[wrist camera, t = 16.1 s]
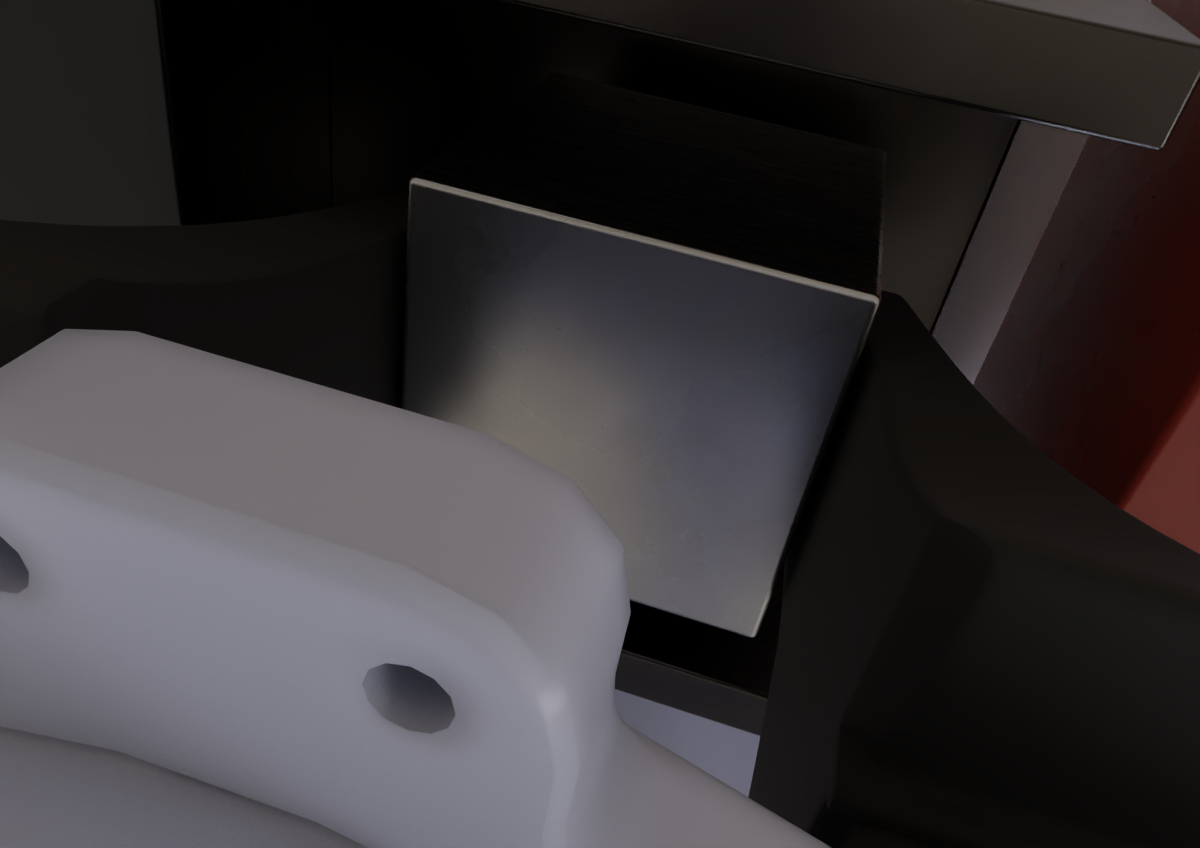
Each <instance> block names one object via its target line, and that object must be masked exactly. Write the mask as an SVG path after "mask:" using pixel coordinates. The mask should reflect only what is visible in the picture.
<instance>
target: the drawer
mask: <svg viewBox="0 0 1200 848" xmlns="http://www.w3.org/2000/svg"><path fill="white" fill-rule="evenodd" d="M199 5H200V16H201V27H202V37H203V48H204V59H205V70H206V80H207V91H208V102H209V113H210V123H211V134H212V145H213V156H214V166H215V177H216V188H217V199H218V209H219V220H220V223H227V222H239V221H249V220H258V219H266V218H273V217H280V216H287V215H292V214H298V213H303V212H309V211H314V210H320V209H325V208H331V207H336V206H342V205H347V204H352V203H357V202H361V201H366V200H370V199H375V198H379V197H384V196H388V195H393V194H397V193H402V192H407V191H409V180H410V178H411V176H413V175H414V174H415V173H417V172H418V171H419V170H421V169H422V168H423V167H425V166H426V165H427V164H429V163H430V162H432V161H433V160H434V159H436V158H437V157H438V156H440V155H441V154H442V153H444V152H445V151H446V150H448V149H449V148H450V147H452V146H453V145H454V144H456V143H457V142H458V141H460V140H461V139H463V138H464V137H465V136H467V135H468V134H469V133H471V132H472V131H473V130H475V129H476V128H477V127H479V126H480V125H481V124H483V123H484V122H485V121H487V120H488V119H489V118H491V117H492V116H494V115H495V114H496V113H498V112H499V111H500V110H502V109H503V108H504V107H506V106H507V105H508V104H510V103H511V102H512V101H514V100H515V99H516V98H518V97H519V96H521V95H522V94H523V93H525V92H526V91H527V90H529V89H530V88H531V87H533V86H534V85H535V84H537V83H538V82H539V81H541V80H542V79H543V78H545V77H546V76H547V75H549V74H550V73H553V72H557V73H561V74H566V75H570V76H574V77H578V78H583V79H587V80H591V81H595V82H599V83H604V84H608V85H612V86H616V87H621V88H625V89H629V90H633V91H638V92H642V93H646V94H650V95H655V96H659V97H663V98H667V99H672V100H676V101H680V102H684V103H689V104H693V105H697V106H701V107H705V108H710V109H714V110H718V111H722V112H727V113H731V114H735V115H739V116H744V117H748V118H752V119H756V120H761V121H765V122H769V123H773V124H778V125H782V126H786V127H790V128H794V129H799V130H803V131H807V132H811V133H816V134H820V135H824V136H828V137H833V138H837V139H841V140H845V141H850V142H854V143H858V144H862V145H867V146H871V147H875V148H879V149H882V150H884V151H885V152H886V170H885V199H884V228H883V256H882V285H881V290H883V291H887V292H891V293H895V294H899V295H901V296H902V297H903V298H904V299H905V301H906V302H907V303H908V304H909V305H910V307H911V308H912V309H913V311H914V312H915V313H916V315H917V316H918V317H919V319H920V320H921V321H922V323H923V324H924V325H925V327H926V328H927V329H928V331H929V332H930V333H931V335H933V333H934V330H935V328H936V325H937V323H938V321H939V318H940V316H941V314H942V311H943V309H944V306H945V304H946V302H947V299H948V297H949V294H950V292H951V290H952V287H953V285H954V283H955V280H956V278H957V275H958V273H959V271H960V268H961V266H962V263H963V261H964V259H965V256H966V254H967V251H968V249H969V247H970V244H971V242H972V240H973V237H974V235H975V232H976V230H977V228H978V225H979V223H980V220H981V218H982V216H983V213H984V211H985V209H986V206H987V204H988V201H989V199H990V197H991V194H992V192H993V189H994V187H995V185H996V182H997V180H998V178H999V175H1000V173H1001V170H1002V168H1003V166H1004V163H1005V161H1006V158H1007V156H1008V154H1009V151H1010V149H1011V146H1012V144H1013V142H1014V139H1015V137H1016V135H1017V132H1018V130H1019V127H1020V125H1021V123H1022V121H1027V122H1031V123H1036V124H1040V125H1044V126H1049V127H1053V128H1058V129H1062V130H1066V131H1071V132H1075V133H1080V134H1084V135H1088V136H1089V137H1088V139H1087V141H1086V144H1085V146H1084V148H1083V150H1082V152H1081V154H1080V156H1079V159H1078V161H1077V163H1076V165H1075V167H1074V169H1073V172H1072V174H1071V176H1070V178H1069V180H1068V182H1067V184H1066V187H1065V189H1064V191H1063V193H1062V195H1061V197H1060V199H1059V202H1058V204H1057V206H1056V208H1055V210H1054V212H1053V214H1052V217H1051V219H1050V221H1049V223H1048V225H1047V227H1046V229H1045V232H1044V234H1043V236H1042V238H1041V240H1040V242H1039V245H1038V247H1037V249H1036V251H1035V253H1034V255H1033V257H1032V260H1031V262H1030V264H1029V266H1028V268H1027V270H1026V272H1025V275H1024V277H1023V279H1022V281H1021V283H1020V285H1019V287H1018V290H1017V292H1016V294H1015V296H1014V298H1013V300H1012V303H1011V305H1010V307H1009V309H1008V311H1007V313H1006V315H1005V318H1004V320H1003V322H1002V324H1001V326H1000V328H999V330H998V333H997V335H996V337H995V339H994V341H993V343H992V345H991V348H990V350H989V352H988V354H987V356H986V358H985V361H984V363H983V365H982V367H981V369H980V371H979V373H978V376H977V378H976V380H975V382H974V384H973V386H974V387H975V388H976V389H977V390H978V391H979V392H980V393H981V395H982V396H983V397H984V398H985V399H986V400H987V401H988V402H989V403H990V404H991V405H992V406H993V407H994V408H995V409H996V410H997V411H998V412H999V413H1000V414H1001V415H1002V416H1003V417H1004V418H1005V419H1006V420H1007V421H1008V422H1009V423H1010V424H1011V425H1012V426H1013V427H1014V428H1015V429H1016V430H1018V431H1019V432H1020V433H1021V434H1022V435H1024V436H1025V437H1026V438H1027V439H1028V440H1029V441H1031V442H1032V443H1033V444H1034V445H1035V446H1036V447H1038V448H1039V449H1040V450H1041V451H1042V452H1043V453H1045V454H1046V455H1047V456H1048V457H1049V458H1051V459H1052V460H1053V461H1054V462H1056V463H1057V464H1058V465H1060V466H1061V467H1062V468H1064V469H1065V470H1066V471H1068V472H1069V473H1070V474H1072V475H1073V476H1074V477H1076V478H1077V479H1079V480H1080V481H1081V482H1083V483H1084V484H1086V485H1087V486H1089V487H1090V488H1092V489H1093V490H1095V491H1096V492H1097V493H1099V494H1100V495H1102V496H1103V497H1105V498H1106V499H1108V500H1109V501H1111V502H1112V503H1113V504H1115V505H1116V506H1118V507H1119V508H1121V509H1123V510H1124V511H1126V512H1127V513H1129V514H1131V515H1132V516H1134V517H1136V518H1137V519H1139V520H1141V521H1142V522H1144V523H1145V524H1147V525H1149V526H1150V527H1152V528H1154V529H1155V530H1157V531H1159V532H1161V533H1162V534H1164V535H1166V536H1168V537H1170V538H1171V539H1173V540H1175V541H1177V542H1179V543H1181V544H1182V545H1184V546H1186V547H1188V548H1190V549H1191V550H1193V551H1195V552H1197V553H1199V554H1200V0H1152V2H1151V3H1150V2H1149V1H1148V0H199ZM784 566H785V561H784V564H783V567H782V570H781V572H780V575H779V578H778V580H777V583H776V586H775V588H774V591H773V594H772V596H771V599H770V602H769V604H768V607H767V610H766V612H765V615H764V618H763V621H762V623H761V626H760V629H759V631H758V633H757V634H756V636H755V637H747V636H744V635H740V634H737V633H734V632H731V631H728V630H724V629H721V628H718V627H715V626H711V625H708V624H705V623H702V622H698V621H695V620H692V619H689V618H686V617H682V616H679V615H676V614H673V613H669V612H666V611H663V610H660V609H657V608H653V607H650V606H647V605H644V604H640V603H637V602H634V601H631V600H629V601H630V610H631V614H630V618H629V622H628V626H627V630H626V634H625V638H624V642H623V646H622V650H621V654H620V658H619V662H618V666H617V670H616V674H615V689H616V690H619V691H622V692H625V693H628V694H631V695H634V696H637V697H640V698H644V699H647V700H650V701H653V702H656V703H659V704H662V705H665V706H668V707H671V708H674V709H678V710H681V711H684V712H687V713H690V714H693V715H696V716H699V717H702V718H705V719H708V720H712V721H715V722H718V723H721V724H724V725H727V726H730V727H733V728H736V729H739V730H742V731H746V732H749V733H752V734H755V735H758V736H761V730H762V725H763V720H764V715H765V710H766V705H767V699H768V694H769V689H770V683H771V678H772V672H773V667H774V662H775V656H776V651H777V645H778V638H779V630H780V621H781V613H782V598H783V582H784Z"/></svg>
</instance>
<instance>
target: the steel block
mask: <svg viewBox="0 0 1200 848" xmlns="http://www.w3.org/2000/svg"><path fill="white" fill-rule="evenodd" d="M885 170H886V152H885V151H884V150H882V149H879V148H875V147H871V146H867V145H862V144H858V143H854V142H850V141H845V140H841V139H837V138H833V137H828V136H824V135H820V134H816V133H811V132H807V131H803V130H799V129H794V128H790V127H786V126H782V125H778V124H773V123H769V122H765V121H761V120H756V119H752V118H748V117H744V116H739V115H735V114H731V113H727V112H722V111H718V110H714V109H710V108H705V107H701V106H697V105H693V104H689V103H684V102H680V101H676V100H672V99H667V98H663V97H659V96H655V95H650V94H646V93H642V92H638V91H633V90H629V89H625V88H621V87H616V86H612V85H608V84H604V83H599V82H595V81H591V80H587V79H583V78H578V77H574V76H570V75H566V74H561V73H557V72H553V73H550V74H549V75H547V76H546V77H545V78H543V79H542V80H541V81H539V82H538V83H537V84H535V85H534V86H533V87H531V88H530V89H529V90H527V91H526V92H525V93H523V94H522V95H521V96H519V97H518V98H516V99H515V100H514V101H512V102H511V103H510V104H508V105H507V106H506V107H504V108H503V109H502V110H500V111H499V112H498V113H496V114H495V115H494V116H492V117H491V118H489V119H488V120H487V121H485V122H484V123H483V124H481V125H480V126H479V127H477V128H476V129H475V130H473V131H472V132H471V133H469V134H468V135H467V136H465V137H464V138H463V139H461V140H460V141H458V142H457V143H456V144H454V145H453V146H452V147H450V148H449V149H448V150H446V151H445V152H444V153H442V154H441V155H440V156H438V157H437V158H436V159H434V160H433V161H432V162H430V163H429V164H427V165H426V166H425V167H423V168H422V169H421V170H419V171H418V172H417V173H415V174H414V175H413V176H411V178H410V180H409V195H408V225H407V255H406V284H405V314H404V344H403V373H402V403H401V409H404V410H407V411H411V412H414V413H418V414H421V415H424V416H428V417H431V418H435V419H438V420H442V421H445V422H448V423H452V424H455V425H459V426H462V427H466V428H469V429H472V430H476V431H479V432H483V433H486V434H489V435H491V436H493V437H495V438H496V439H498V440H500V441H502V442H504V443H506V444H508V445H510V446H512V447H513V448H515V449H517V450H519V451H521V452H523V453H525V454H527V455H528V456H530V457H532V458H534V459H536V460H538V461H540V462H542V463H543V464H545V465H547V466H549V467H551V468H553V469H555V470H557V471H559V472H560V473H562V474H564V475H566V476H568V477H570V478H571V479H572V480H573V481H574V483H575V484H576V485H577V487H578V488H579V489H580V490H581V492H582V493H583V494H584V495H585V497H586V498H587V499H588V501H589V502H590V503H591V504H592V506H593V507H594V508H595V510H596V511H597V512H598V513H599V515H600V516H601V517H602V519H603V520H604V521H605V522H606V524H607V525H608V526H609V528H610V529H611V530H612V531H613V533H614V534H615V535H616V537H617V538H618V539H619V540H620V542H621V543H622V544H623V547H624V556H625V565H626V574H627V583H628V592H629V600H631V601H634V602H637V603H640V604H644V605H647V606H650V607H653V608H657V609H660V610H663V611H666V612H669V613H673V614H676V615H679V616H682V617H686V618H689V619H692V620H695V621H698V622H702V623H705V624H708V625H711V626H715V627H718V628H721V629H724V630H728V631H731V632H734V633H737V634H740V635H744V636H747V637H755V636H756V634H757V633H758V631H759V629H760V626H761V623H762V621H763V618H764V615H765V612H766V610H767V607H768V604H769V602H770V599H771V596H772V594H773V591H774V588H775V586H776V583H777V580H778V578H779V575H780V572H781V570H782V567H783V564H784V561H785V559H786V556H787V553H788V551H789V548H790V545H791V543H792V540H793V537H794V535H795V532H796V529H797V527H798V524H799V521H800V518H801V516H802V513H803V510H804V508H805V505H806V502H807V500H808V497H809V494H810V492H811V489H812V486H813V484H814V481H815V478H816V476H817V473H818V470H819V467H820V465H821V462H822V459H823V457H824V454H825V451H826V449H827V446H828V443H829V441H830V438H831V435H832V433H833V430H834V427H835V425H836V422H837V419H838V416H839V414H840V411H841V408H842V406H843V403H844V400H845V398H846V395H847V392H848V390H849V387H850V384H851V382H852V379H853V376H854V374H855V371H856V368H857V365H858V363H859V360H860V357H861V355H862V352H863V349H864V347H865V344H866V341H867V339H868V336H869V333H870V331H871V328H872V325H873V322H874V320H875V317H876V314H877V312H878V309H879V306H880V304H881V285H882V256H883V228H884V199H885Z"/></svg>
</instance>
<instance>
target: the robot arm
mask: <svg viewBox="0 0 1200 848" xmlns="http://www.w3.org/2000/svg"><path fill="white" fill-rule="evenodd" d="M408 195H409V191H407V192H402V193H397V194H393V195H388V196H384V197H379V198H375V199H370V200H366V201H361V202H357V203H352V204H347V205H342V206H336V207H331V208H325V209H320V210H314V211H309V212H303V213H298V214H292V215H287V216H280V217H273V218H266V219H258V220H249V221H239V222H227V223H216V224H203V225H173V226H89V225H67V224H50V223H37V222H24V221H11V220H1V219H0V848H1200V554H1199V553H1197V552H1195V551H1193V550H1191V549H1190V548H1188V547H1186V546H1184V545H1182V544H1181V543H1179V542H1177V541H1175V540H1173V539H1171V538H1170V537H1168V536H1166V535H1164V534H1162V533H1161V532H1159V531H1157V530H1155V529H1154V528H1152V527H1150V526H1149V525H1147V524H1145V523H1144V522H1142V521H1141V520H1139V519H1137V518H1136V517H1134V516H1132V515H1131V514H1129V513H1127V512H1126V511H1124V510H1123V509H1121V508H1119V507H1118V506H1116V505H1115V504H1113V503H1112V502H1111V501H1109V500H1108V499H1106V498H1105V497H1103V496H1102V495H1100V494H1099V493H1097V492H1096V491H1095V490H1093V489H1092V488H1090V487H1089V486H1087V485H1086V484H1084V483H1083V482H1081V481H1080V480H1079V479H1077V478H1076V477H1074V476H1073V475H1072V474H1070V473H1069V472H1068V471H1066V470H1065V469H1064V468H1062V467H1061V466H1060V465H1058V464H1057V463H1056V462H1054V461H1053V460H1052V459H1051V458H1049V457H1048V456H1047V455H1046V454H1045V453H1043V452H1042V451H1041V450H1040V449H1039V448H1038V447H1036V446H1035V445H1034V444H1033V443H1032V442H1031V441H1029V440H1028V439H1027V438H1026V437H1025V436H1024V435H1022V434H1021V433H1020V432H1019V431H1018V430H1016V429H1015V428H1014V427H1013V426H1012V425H1011V424H1010V423H1009V422H1008V421H1007V420H1006V419H1005V418H1004V417H1003V416H1002V415H1001V414H1000V413H999V412H998V411H997V410H996V409H995V408H994V407H993V406H992V405H991V404H990V403H989V402H988V401H987V400H986V399H985V398H984V397H983V396H982V395H981V393H980V392H979V391H978V390H977V389H976V388H975V387H974V386H973V385H972V384H971V383H970V382H969V380H968V379H967V378H966V377H965V376H964V375H963V373H962V372H961V371H960V370H959V369H958V368H957V366H956V365H955V364H954V363H953V361H952V360H951V359H950V358H949V357H948V355H947V354H946V353H945V351H944V350H943V349H942V348H941V346H940V345H939V344H938V342H937V341H936V340H935V339H934V337H933V336H932V335H931V333H930V332H929V331H928V329H927V328H926V327H925V325H924V324H923V323H922V321H921V320H920V319H919V317H918V316H917V315H916V313H915V312H914V311H913V309H912V308H911V307H910V305H909V304H908V303H907V302H906V301H905V299H904V298H903V297H902V296H901V295H899V294H895V293H891V292H887V291H883V290H881V304H880V306H879V309H878V312H877V314H876V317H875V320H874V322H873V325H872V328H871V331H870V333H869V336H868V339H867V341H866V344H865V347H864V349H863V352H862V355H861V357H860V360H859V363H858V365H857V368H856V371H855V374H854V376H853V379H852V382H851V384H850V387H849V390H848V392H847V395H846V398H845V400H844V403H843V406H842V408H841V411H840V414H839V416H838V419H837V422H836V425H835V427H834V430H833V433H832V435H831V438H830V441H829V443H828V446H827V449H826V451H825V454H824V457H823V459H822V462H821V465H820V467H819V470H818V473H817V476H816V478H815V481H814V484H813V486H812V489H811V492H810V494H809V497H808V500H807V502H806V505H805V508H804V510H803V513H802V516H801V518H800V521H799V524H798V527H797V529H796V532H795V535H794V537H793V540H792V543H791V545H790V548H789V551H788V553H787V556H786V559H785V566H784V582H783V598H782V613H781V621H780V630H779V638H778V645H777V651H776V656H775V662H774V667H773V672H772V678H771V683H770V689H769V694H768V699H767V705H766V710H765V715H764V720H763V725H762V730H761V736H758V735H755V734H752V733H749V732H746V731H742V730H739V729H736V728H733V727H730V726H727V725H724V724H721V723H718V722H715V721H712V720H708V719H705V718H702V717H699V716H696V715H693V714H690V713H687V712H684V711H681V710H678V709H674V708H671V707H668V706H665V705H662V704H659V703H656V702H653V701H650V700H647V699H644V698H640V697H637V696H634V695H631V694H628V693H625V692H622V691H619V690H616V689H615V674H616V670H617V666H618V662H619V658H620V654H621V650H622V646H623V642H624V638H625V634H626V630H627V626H628V622H629V618H630V614H631V610H630V601H629V592H628V583H627V574H626V565H625V556H624V547H623V544H622V543H621V542H620V540H619V539H618V538H617V537H616V535H615V534H614V533H613V531H612V530H611V529H610V528H609V526H608V525H607V524H606V522H605V521H604V520H603V519H602V517H601V516H600V515H599V513H598V512H597V511H596V510H595V508H594V507H593V506H592V504H591V503H590V502H589V501H588V499H587V498H586V497H585V495H584V494H583V493H582V492H581V490H580V489H579V488H578V487H577V485H576V484H575V483H574V481H573V480H572V479H571V478H570V477H568V476H566V475H564V474H562V473H560V472H559V471H557V470H555V469H553V468H551V467H549V466H547V465H545V464H543V463H542V462H540V461H538V460H536V459H534V458H532V457H530V456H528V455H527V454H525V453H523V452H521V451H519V450H517V449H515V448H513V447H512V446H510V445H508V444H506V443H504V442H502V441H500V440H498V439H496V438H495V437H493V436H491V435H489V434H486V433H483V432H479V431H476V430H472V429H469V428H466V427H462V426H459V425H455V424H452V423H448V422H445V421H442V420H438V419H435V418H431V417H428V416H424V415H421V414H418V413H414V412H411V411H407V410H404V409H401V403H402V373H403V344H404V314H405V284H406V255H407V225H408Z"/></svg>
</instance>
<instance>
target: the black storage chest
mask: <svg viewBox="0 0 1200 848" xmlns="http://www.w3.org/2000/svg"><path fill="white" fill-rule="evenodd" d="M0 219H1V220H11V221H24V222H37V223H50V224H67V225H89V226H173V225H203V224H216V223H220V220H219V209H218V199H217V188H216V177H215V166H214V156H213V145H212V134H211V123H210V113H209V102H208V91H207V80H206V70H205V59H204V48H203V37H202V27H201V16H200V5H199V0H0Z"/></svg>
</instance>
